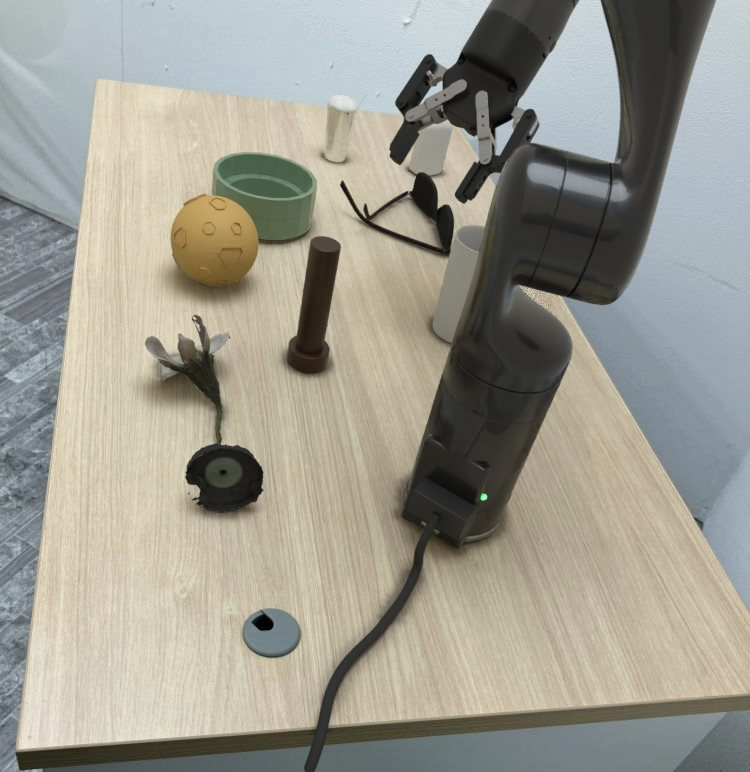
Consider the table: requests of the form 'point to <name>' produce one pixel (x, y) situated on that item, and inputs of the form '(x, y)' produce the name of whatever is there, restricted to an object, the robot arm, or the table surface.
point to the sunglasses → (427, 202)
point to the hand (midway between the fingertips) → (426, 180)
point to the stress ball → (214, 240)
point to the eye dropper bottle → (431, 148)
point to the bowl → (268, 192)
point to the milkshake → (339, 126)
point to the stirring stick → (315, 307)
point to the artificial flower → (215, 462)
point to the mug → (457, 280)
